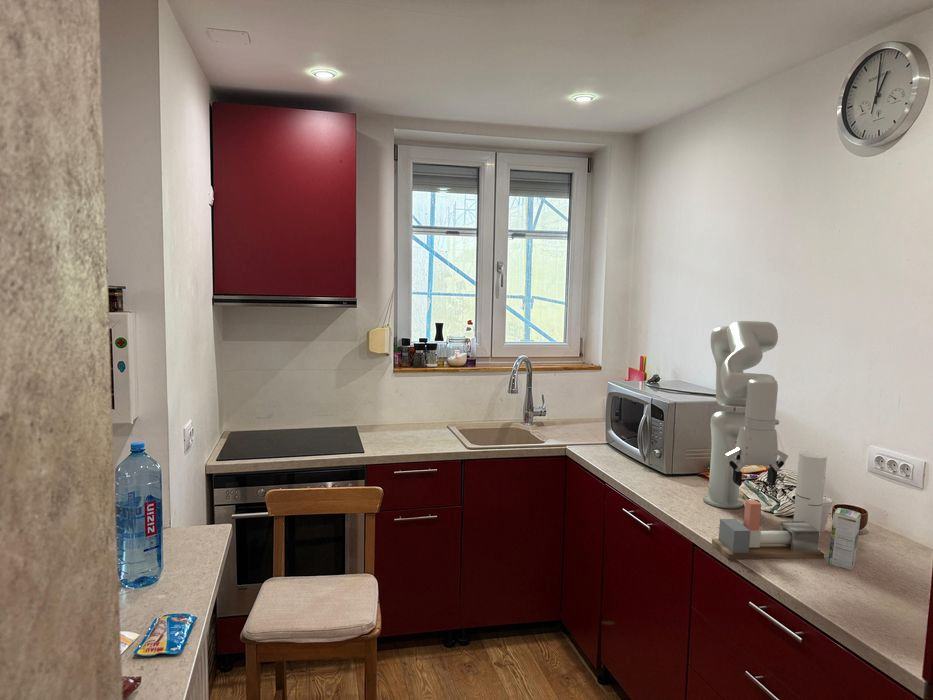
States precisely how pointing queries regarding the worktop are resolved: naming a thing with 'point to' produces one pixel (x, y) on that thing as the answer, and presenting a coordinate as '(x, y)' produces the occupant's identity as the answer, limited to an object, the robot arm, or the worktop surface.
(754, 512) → the slide bolt
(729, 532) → the socket
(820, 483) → the cylindrical container
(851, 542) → the syrup box
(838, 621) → the worktop surface
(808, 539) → the roller board
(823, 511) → the smoothie
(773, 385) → the robot arm
